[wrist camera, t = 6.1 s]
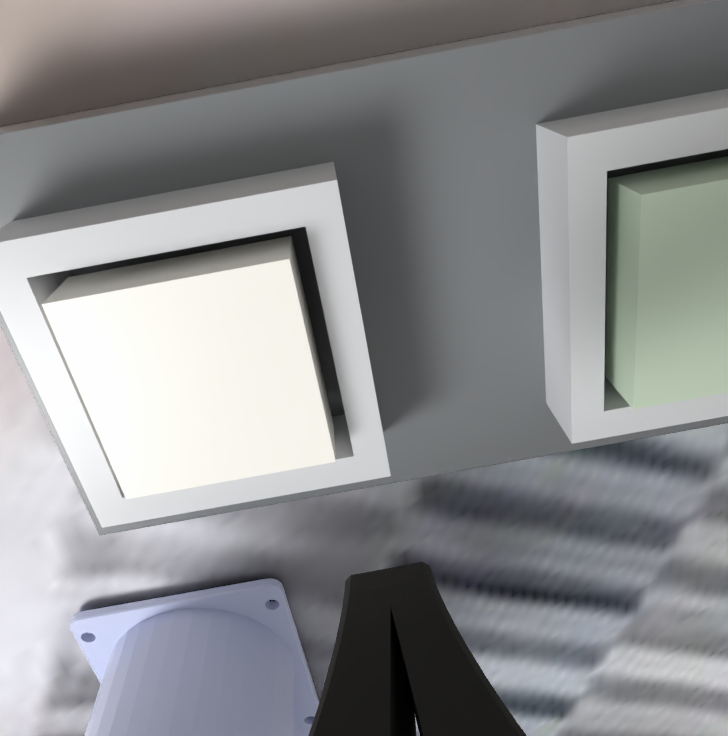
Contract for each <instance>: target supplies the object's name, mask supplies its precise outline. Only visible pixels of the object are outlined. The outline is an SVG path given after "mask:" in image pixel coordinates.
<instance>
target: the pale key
mask: <svg viewBox="0 0 728 736" xmlns="http://www.w3.org/2000/svg"><path fill="white" fill-rule="evenodd" d="M42 307H43V309H44V311H45V314H46V316H47V318H48V321H49V323H50V325H51V327H52V330H53V332H54V334H55V337H56V339H57V341H58V344H59V346H60V348H61V350H62V353H63V355H64V357H65V360H66V362H67V364H68V367H69V369H70V371H71V374H72V376H73V378H74V380H75V383H76V385H77V387H78V390H79V392H80V394H81V397H82V399H83V401H84V403H85V406H86V408H87V410H88V413H89V415H90V417H91V420H92V422H93V424H94V427H95V429H96V431H97V433H98V436H99V438H100V440H101V443H102V445H103V447H104V450H105V452H106V454H107V457H108V459H109V461H110V463H111V466H112V468H113V470H114V473H115V475H116V477H117V480H118V482H119V484H120V486H121V489H122V491H123V493H124V496H125V498H126V499H131V498H137V497H143V496H148V495H154V494H159V493H165V492H170V491H176V490H182V489H187V488H193V487H198V486H204V485H209V484H215V483H221V482H226V481H232V480H237V479H243V478H248V477H254V476H260V475H265V474H271V473H276V472H282V471H287V470H293V469H299V468H304V467H310V466H315V465H321V464H326V463H332V462H336V455H335V438H334V424H333V419H332V415H331V410H330V406H329V401H328V397H327V392H326V388H325V383H324V379H323V374H322V370H321V366H320V361H319V357H318V352H317V348H316V343H315V339H314V334H313V330H312V325H311V321H310V316H309V312H308V307H307V303H306V298H305V294H304V290H303V285H302V281H301V276H300V272H299V267H298V263H297V258H296V254H295V249H294V245H293V240H292V236H289V237H283V238H278V239H272V240H267V241H261V242H256V243H251V244H245V245H240V246H234V247H229V248H223V249H218V250H213V251H207V252H202V253H196V254H191V255H185V256H180V257H174V258H169V259H164V260H158V261H153V262H147V263H142V264H136V265H131V266H126V267H120V268H115V269H109V270H104V271H98V272H93V273H87V274H82V275H77V276H71V277H68V278H67V279H66V280H65V281H64V282H63V283H62V284H61V285H60V286H59V287H58V288H57V289H56V290H55V291H54V292H53V293H52V294H51V295H50V296H49V297H48V298H47V299H46V300H45V301H44V302H43V303H42Z"/></svg>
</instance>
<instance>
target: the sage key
mask: <svg viewBox="0 0 728 736" xmlns="http://www.w3.org/2000/svg"><path fill="white" fill-rule="evenodd" d="M605 377H606V378H607V379H608V380H609V382H610V383H611V384H612V385H613V386H614V387H615V389H616V390H617V391H618V392H619V393H620V395H621V396H622V397H623V398H624V399H625V400H626V402H627V403H628V404H629V405H630V406H631V407H632V409H639V408H644V407H650V406H656V405H661V404H667V403H672V402H678V401H683V400H689V399H694V398H700V397H706V396H711V395H717V394H722V393H728V156H727V157H721V158H716V159H710V160H705V161H699V162H694V163H688V164H683V165H678V166H672V167H667V168H661V169H656V170H650V171H645V172H640V173H634V174H629V175H623V176H618V177H612V178H608V221H607V294H606V367H605Z"/></svg>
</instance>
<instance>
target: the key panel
mask: <svg viewBox="0 0 728 736" xmlns="http://www.w3.org/2000/svg"><path fill="white" fill-rule="evenodd" d="M727 156H728V0H676V1H670V2H665V3H660V4H654V5H649V6H644V7H638V8H633V9H628V10H622V11H617V12H611V13H606V14H601V15H595V16H590V17H585V18H579V19H574V20H569V21H563V22H558V23H553V24H547V25H542V26H537V27H531V28H526V29H521V30H515V31H510V32H505V33H499V34H494V35H488V36H483V37H478V38H472V39H467V40H462V41H456V42H451V43H446V44H440V45H435V46H430V47H424V48H419V49H414V50H408V51H403V52H398V53H392V54H387V55H382V56H376V57H371V58H365V59H360V60H355V61H349V62H344V63H339V64H333V65H328V66H323V67H317V68H312V69H307V70H301V71H296V72H291V73H285V74H280V75H275V76H269V77H264V78H259V79H253V80H248V81H242V82H237V83H232V84H226V85H221V86H216V87H210V88H205V89H200V90H194V91H189V92H184V93H178V94H173V95H168V96H162V97H157V98H152V99H146V100H141V101H136V102H130V103H125V104H119V105H114V106H109V107H103V108H98V109H93V110H87V111H82V112H77V113H71V114H66V115H61V116H55V117H50V118H45V119H39V120H34V121H29V122H23V123H18V124H13V125H7V126H2V127H0V326H1V328H2V331H3V333H4V335H5V337H6V339H7V341H8V343H9V345H10V347H11V349H12V352H13V354H14V356H15V358H16V360H17V362H18V364H19V366H20V368H21V371H22V373H23V375H24V377H25V379H26V381H27V383H28V385H29V387H30V390H31V392H32V394H33V396H34V398H35V400H36V402H37V404H38V406H39V408H40V411H41V413H42V415H43V417H44V419H45V421H46V423H47V425H48V427H49V430H50V432H51V434H52V436H53V438H54V440H55V442H56V444H57V446H58V449H59V451H60V453H61V455H62V457H63V459H64V461H65V463H66V465H67V467H68V470H69V472H70V474H71V476H72V478H73V480H74V482H75V484H76V486H77V489H78V491H79V493H80V495H81V497H82V499H83V501H84V503H85V505H86V508H87V510H88V512H89V514H90V516H91V518H92V520H93V522H94V524H95V527H96V529H97V531H98V533H99V535H105V534H111V533H116V532H122V531H127V530H133V529H138V528H144V527H150V526H155V525H161V524H166V523H172V522H178V521H183V520H189V519H194V518H200V517H206V516H211V515H217V514H222V513H228V512H233V511H239V510H245V509H250V508H256V507H261V506H267V505H273V504H278V503H284V502H289V501H295V500H301V499H306V498H312V497H317V496H323V495H328V494H334V493H340V492H345V491H351V490H356V489H362V488H368V487H373V486H379V485H384V484H390V483H396V482H401V481H407V480H412V479H418V478H423V477H429V476H435V475H440V474H446V473H451V472H457V471H463V470H468V469H474V468H479V467H485V466H491V465H496V464H502V463H507V462H513V461H518V460H524V459H530V458H535V457H541V456H546V455H552V454H558V453H563V452H569V451H574V450H580V449H586V448H591V447H597V446H602V445H608V444H613V443H619V442H625V441H630V440H636V439H641V438H647V437H653V436H658V435H664V434H669V433H675V432H680V431H686V430H692V429H697V428H703V427H708V426H714V425H720V424H725V423H728V393H722V394H717V395H711V396H706V397H700V398H694V399H689V400H683V401H678V402H672V403H667V404H661V405H656V406H650V407H644V408H639V409H632V407H631V406H630V405H629V404H628V403H627V402H626V400H625V399H624V398H623V397H622V396H621V395H620V393H619V392H618V391H617V390H616V389H615V387H614V386H613V385H612V384H611V383H610V382H609V380H608V379H607V378H606V377H605V367H606V294H607V221H608V178H612V177H618V176H623V175H629V174H634V173H640V172H645V171H650V170H656V169H661V168H667V167H672V166H678V165H683V164H688V163H694V162H699V161H705V160H710V159H716V158H721V157H727ZM289 236H292V240H293V245H294V249H295V254H296V258H297V263H298V267H299V272H300V276H301V281H302V285H303V290H304V294H305V298H306V303H307V307H308V312H309V316H310V321H311V325H312V330H313V334H314V339H315V343H316V348H317V352H318V357H319V361H320V366H321V370H322V374H323V379H324V383H325V388H326V392H327V397H328V401H329V406H330V410H331V415H332V419H333V424H334V438H335V455H336V462H332V463H326V464H321V465H315V466H310V467H304V468H299V469H293V470H287V471H282V472H276V473H271V474H265V475H260V476H254V477H248V478H243V479H237V480H232V481H226V482H221V483H215V484H209V485H204V486H198V487H193V488H187V489H182V490H176V491H170V492H165V493H159V494H154V495H148V496H143V497H137V498H131V499H126V498H125V496H124V493H123V491H122V489H121V486H120V484H119V482H118V480H117V477H116V475H115V473H114V470H113V468H112V466H111V463H110V461H109V459H108V457H107V454H106V452H105V450H104V447H103V445H102V443H101V440H100V438H99V436H98V433H97V431H96V429H95V427H94V424H93V422H92V420H91V417H90V415H89V413H88V410H87V408H86V406H85V403H84V401H83V399H82V397H81V394H80V392H79V390H78V387H77V385H76V383H75V380H74V378H73V376H72V374H71V371H70V369H69V367H68V364H67V362H66V360H65V357H64V355H63V353H62V350H61V348H60V346H59V344H58V341H57V339H56V337H55V334H54V332H53V330H52V327H51V325H50V323H49V321H48V318H47V316H46V314H45V311H44V309H43V307H42V303H43V302H44V301H45V300H46V299H47V298H48V297H49V296H50V295H51V294H52V293H53V292H54V291H55V290H56V289H57V288H58V287H59V286H60V285H61V284H62V283H63V282H64V281H65V280H66V279H67V278H68V277H71V276H77V275H82V274H87V273H93V272H98V271H104V270H109V269H115V268H120V267H126V266H131V265H136V264H142V263H147V262H153V261H158V260H164V259H169V258H174V257H180V256H185V255H191V254H196V253H202V252H207V251H213V250H218V249H223V248H229V247H234V246H240V245H245V244H251V243H256V242H261V241H267V240H272V239H278V238H283V237H289Z"/></svg>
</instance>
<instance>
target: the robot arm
mask: <svg viewBox="0 0 728 736" xmlns="http://www.w3.org/2000/svg"><path fill="white" fill-rule="evenodd" d="M269 600H276V601H275V602H272V601H269ZM70 630H71V631H72V633H73V635H74V637H75V639H76V640H77V642H78V644H79V646H80V648H81V649H82V651H83V653H84V655H85V657H86V658H87V660H88V662H89V664H90V666H91V668H92V669H93V671H94V673H95V675H96V677H97V678H98V680H99V682H100V684H101V685H100V688H99V691H98V695H97V698H96V701H95V704H94V707H93V710H92V713H91V716H90V719H89V723H88V726H87V729H86V732H85V735H84V736H416V725H415V716H416V720H417V724H418V729H419V733H420V736H526V734H525V733H524V732H523V730H522V729H521V727H520V726H519V725H518V723H517V722H516V720H515V719H514V718H513V716H512V715H511V713H510V712H509V710H508V709H507V708H506V706H505V705H504V703H503V702H502V700H501V699H500V697H499V696H498V695H497V693H496V691H495V690H494V688H493V687H492V685H491V684H490V682H489V681H488V679H487V678H486V676H485V675H484V673H483V671H482V670H481V668H480V666H479V665H478V663H477V662H476V660H475V658H474V657H473V655H472V653H471V652H470V650H469V648H468V647H467V645H466V644H465V642H464V640H463V638H462V636H461V635H460V633H459V631H458V629H457V628H456V626H455V624H454V622H453V620H452V618H451V616H450V614H449V612H448V610H447V608H446V606H445V604H444V602H443V600H442V598H441V596H440V593H439V591H438V589H437V586H436V584H435V581H434V578H433V576H432V572H431V569H430V566H429V565H427V564H425V563H423V562H420V563H415V564H409V565H404V566H398V567H393V568H388V569H382V570H377V571H372V572H366V573H361V574H355V575H351V576H350V577H349V578H348V579H347V580H346V582H345V593H344V601H343V607H342V613H341V619H340V624H339V629H338V633H337V638H336V642H335V647H334V651H333V655H332V659H331V662H330V666H329V670H328V673H327V677H326V681H325V684H324V688H323V692H322V695H321V699H320V702H319V700H318V697H317V694H316V690H315V687H314V684H313V681H312V677H311V674H310V671H309V668H308V665H307V661H306V658H305V655H304V652H303V649H302V645H301V642H300V639H299V636H298V633H297V629H296V626H295V623H294V620H293V617H292V613H291V610H290V607H289V604H288V601H287V597H286V594H285V591H284V588H283V585H282V584H281V582H280V581H278V580H276V579H272V578H268V579H261V580H256V581H250V582H244V583H239V584H233V585H228V586H222V587H216V588H211V589H205V590H199V591H194V592H188V593H183V594H177V595H171V596H166V597H160V598H154V599H149V600H143V601H137V602H132V603H126V604H121V605H115V606H109V607H104V608H98V609H92V610H87V611H81V612H78V613H76V614H75V615H74V616H73V618H72V621H71V623H70Z"/></svg>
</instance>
